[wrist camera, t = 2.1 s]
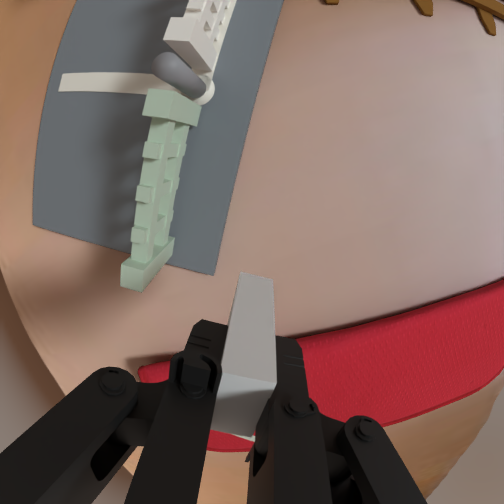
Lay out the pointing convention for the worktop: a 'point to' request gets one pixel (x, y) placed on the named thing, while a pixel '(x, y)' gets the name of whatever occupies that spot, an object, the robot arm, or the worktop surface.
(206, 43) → the fixed fence panel
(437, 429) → the worktop surface
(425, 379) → the dish drying mat
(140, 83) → the card
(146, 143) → the hinged fence panel
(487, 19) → the decorative fence
